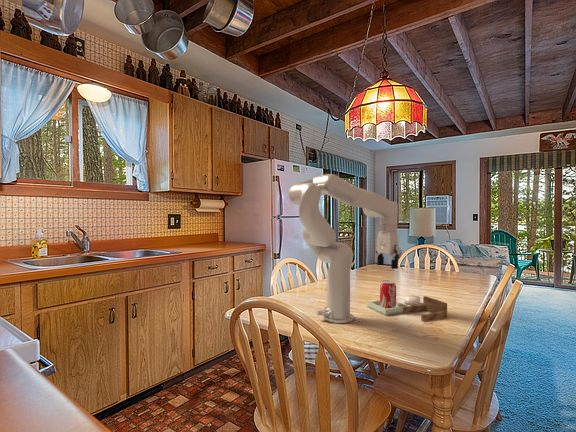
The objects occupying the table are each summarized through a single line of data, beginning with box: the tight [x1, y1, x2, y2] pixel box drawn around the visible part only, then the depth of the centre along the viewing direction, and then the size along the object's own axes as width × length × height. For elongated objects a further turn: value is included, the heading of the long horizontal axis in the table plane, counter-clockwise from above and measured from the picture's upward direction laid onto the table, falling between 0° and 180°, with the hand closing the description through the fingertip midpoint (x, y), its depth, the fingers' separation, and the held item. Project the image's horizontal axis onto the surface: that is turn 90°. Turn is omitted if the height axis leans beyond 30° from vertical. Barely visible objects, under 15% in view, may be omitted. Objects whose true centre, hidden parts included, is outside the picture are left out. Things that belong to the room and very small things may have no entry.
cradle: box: [402, 295, 448, 322], centre depth 142 cm, size 13×12×6 cm
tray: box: [366, 299, 410, 317], centre depth 149 cm, size 13×13×3 cm
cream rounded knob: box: [404, 294, 421, 306], centre depth 159 cm, size 7×7×4 cm
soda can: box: [379, 279, 397, 309], centre depth 149 cm, size 7×7×12 cm
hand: (387, 266), depth 149 cm, fingers open, 9 cm apart
